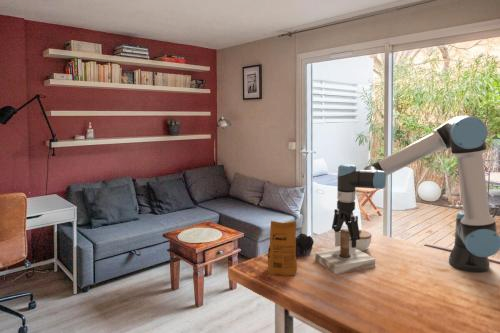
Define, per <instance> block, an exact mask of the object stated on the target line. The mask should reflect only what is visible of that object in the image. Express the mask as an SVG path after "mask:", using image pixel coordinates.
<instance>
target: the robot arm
mask: <svg viewBox="0 0 500 333" xmlns="http://www.w3.org/2000/svg"><path fill="white" fill-rule="evenodd" d="M488 132H489V131H488V128H487V125H486V123H485V122H484V121H483V120H482V119H480V118H479V117H477V116H474V115H473V116H472V115H457V116H455V117H453V118H451V119H449V120H447V121H446V122H445V123H442V124H441V125H440V126H439V127H436V128H434V129H433V131H432V133H430V134H428V135H425V136H424V137H422V138H420V139H418V140H417V141H415V142H413V143H411V144H408V145H407V146H404V147H403V148H400V149H399V150H397V151H396V152H395V151H394V152H393V153H391V154H390V155H387V156H386V157H384V158H382V159H380V160H378V161H376V162H374V163H373V164H367V165H366V166H365V167H364V168H363V169H357V166H356V165H355V164H349V163H348V164H347V163H343V164H340V165H338V167H337V168H338V169H337V196H336V198H337V201H336V209H335V208H334V210H333V211H334V215H333V220H332V226H331V229H332V230H333V231H334V247H340V237H341V230H342V228H343V224H344V223H345V225H346V226H347V229H348V231H349V235H350V238H351V239H350V240H349V255H352V254H355V250H356V240H360V235H359V230H360V229H359V223H358V222H359V217H358V215H354V211H355V209H356V201H355V200H356V192H357V191H356V188H362V189H376V190H378V189H381V190H382V189H385V188H386V185H387V184H386V183H387V181H386V180H387V177H388V176H389V175H392V174H394V173H395V172H397V171H399V170H402V169H404V168H406V167H407V166H411V165H412V164H413V163H416V162H418V161H420V160H423V159H424V158H426V157H428V156H430V155H431V154H434V153H435V152H438V151H440V150H442V149H444V150H447V149H449V148H450V152H451V154H452V155H453V156H454V157H455V158H456V164H457V169H458V170H457V171H458V177H459V187H460V193H461V194H460V195H461V201H462V207H463V208H462V209H463V211H460V212H458V213H457V214H456V218H455V234H454V246H453V248H452V249H451V252H450V254H449V256H448V263H449V264H450V265H451V266H452V267H454V268H456V269H458V270H463V271H466V272H473V273H483V272H487V271H489V270H490V260H489V257H492V256H494V255H495V254H497V253H498V252H499V251H500V235H499V234H498V230H497V223H496V219H495V218H494V217H493V216H491V213H490V205H489V196H488V190H487V182H486V181H487V180H486V174H485V173H486V172H485V165H484V164H485V163H484V157H483V154H484V153H485V152H486V151H487V143H486V142H487V141H486V140H487V138H488Z"/></svg>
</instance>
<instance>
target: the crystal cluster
mask: <svg viewBox="0 0 500 333" xmlns="http://www.w3.org/2000/svg"><path fill="white" fill-rule="evenodd" d="M313 245H314V239H313V238H312V236H311V235H307V234H306V233H300V234H298V236H296V258H301V257H302V258H304V257H308V256H310V255H311V253H312V251H313Z"/></svg>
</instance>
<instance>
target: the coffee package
mask: <svg viewBox="0 0 500 333" xmlns="http://www.w3.org/2000/svg"><path fill="white" fill-rule="evenodd" d="M297 226H298V225H297V221H296V220H295V221H287V222H281V221H275V220H270V231H269V232H270V233H269V234H270V235H269V236H270V238H269V246H268V249H267V250H268V251H267V273H268V274H269V275H270V276H276V275H279V276H282V277H288V276H289V277H290V276H295V275H297V272H298V262H297V261H298V260H297V257H296V237H297V236H296V234H297V233H296V231H297Z"/></svg>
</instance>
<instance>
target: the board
mask: <svg viewBox="0 0 500 333" xmlns="http://www.w3.org/2000/svg"><path fill="white" fill-rule="evenodd" d="M314 254H315V255H314V256H315V258H314V260H315V261H316V262H317V263H319V264H320V265H321V266H323V267H325V268H326V269H327V270H329V271H330V272H331V273H333V274H334V275H338V274H343V273H349V272H354V271H359V270H365V269H369V268H373V267H376V258H375V257H373V256H371V255H369V254H368V253H366V252H364V251H360V250H358V249H356V250H355V254H352V255H350V257H349V258H341V257H340V248H336V249H335V248H334V249H330V250H325V251H323V250H322V251H317V252H315V253H314Z"/></svg>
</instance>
